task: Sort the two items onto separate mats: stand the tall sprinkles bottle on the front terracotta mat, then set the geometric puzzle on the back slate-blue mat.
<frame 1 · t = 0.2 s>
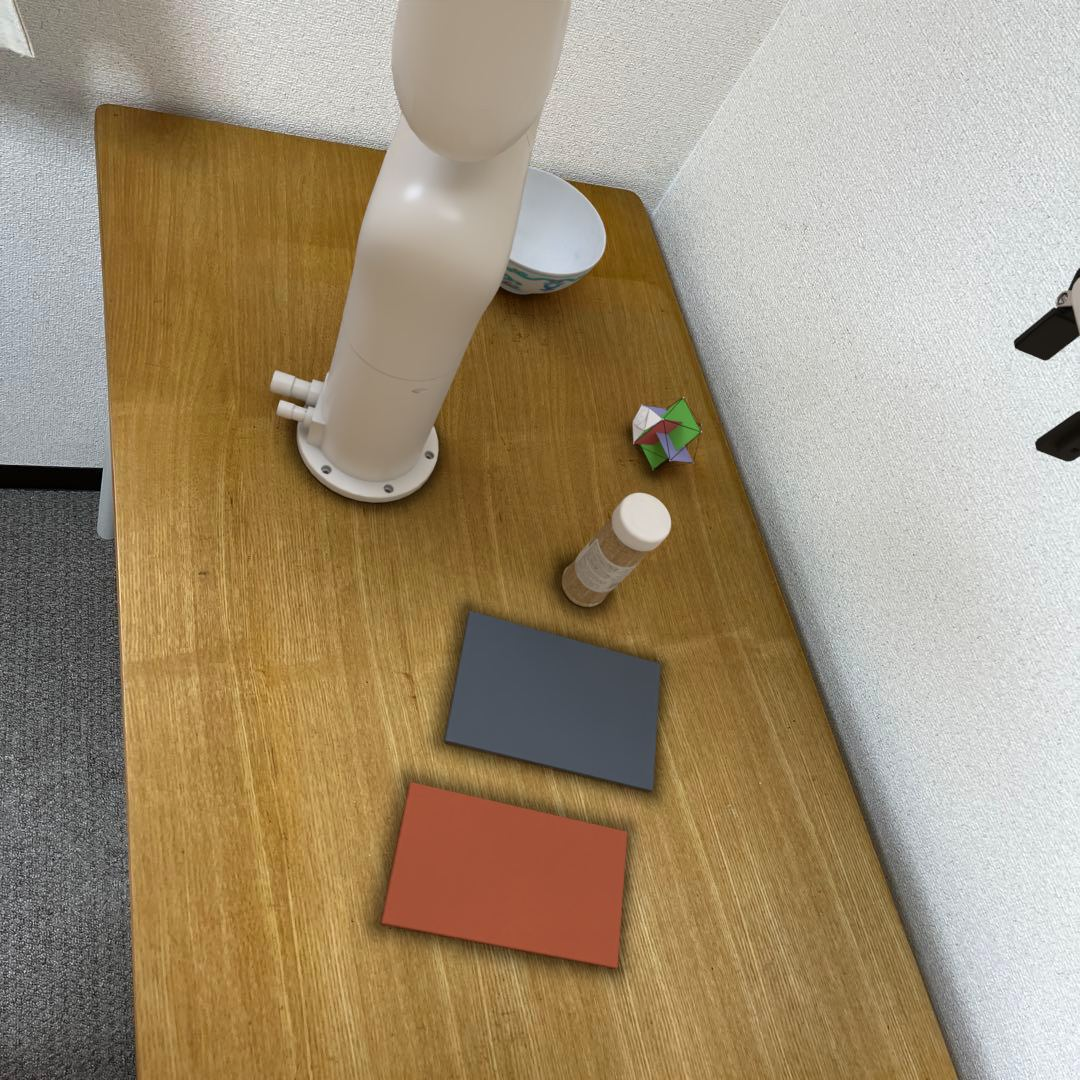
hand: (1039, 400, 66), 31 cm above the table, tool pointing down, fingers open, 9 cm apart
front mat: (511, 875, 68), on the table
chinaware: (514, 272, 98), on the table
geometric puzzle: (652, 452, 93), on the table
sprinkles bottle: (581, 587, 82), on the table
back mat: (557, 701, 76), on the table
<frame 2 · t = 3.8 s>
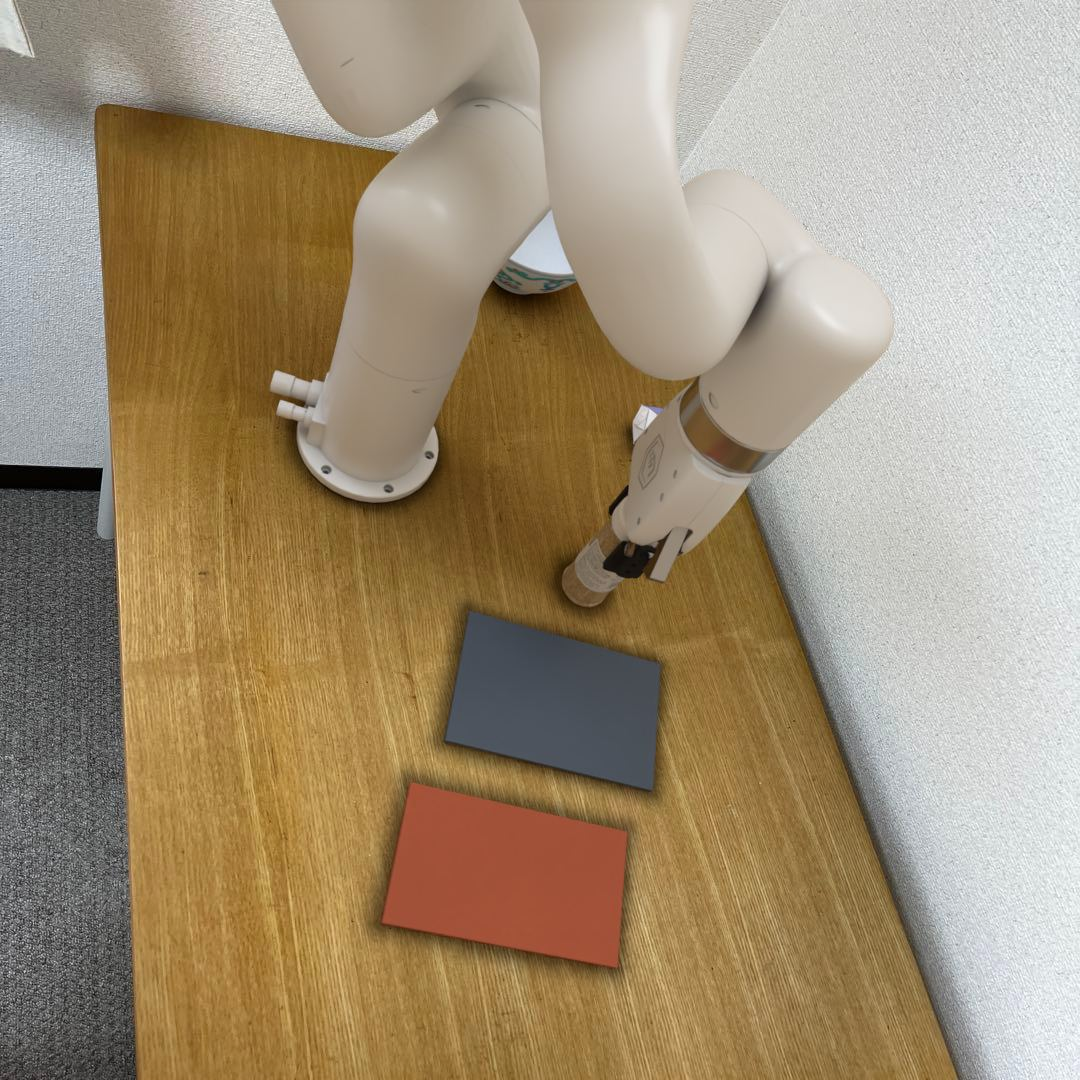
hand: (622, 542, 75), 9 cm above the table, tool pointing down, fingers closed on sprinkles bottle, 4 cm apart
sprinkles bottle: (581, 587, 82), on the table, touching gripper
everything else where it was.
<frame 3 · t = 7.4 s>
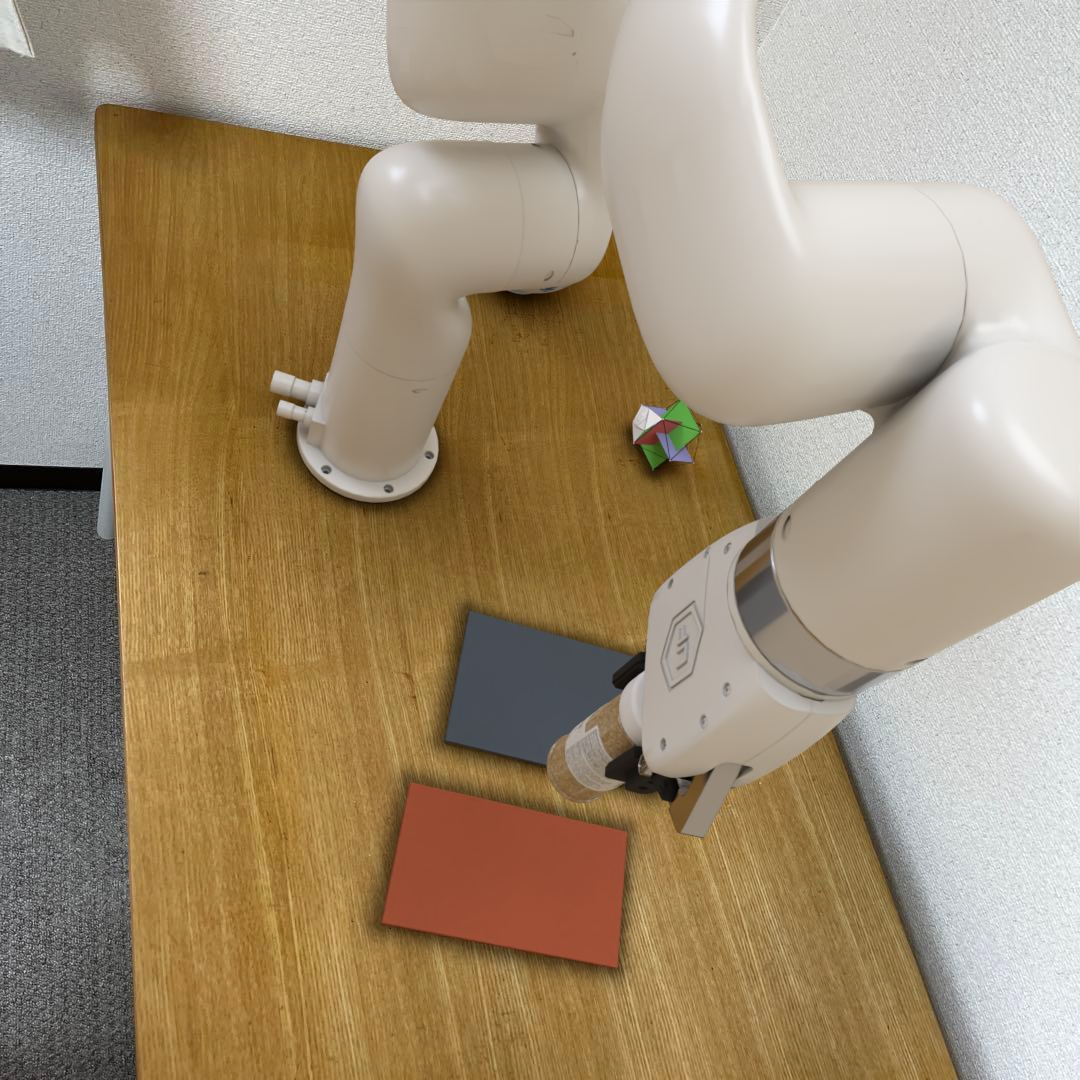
hand: (634, 730, 50), 23 cm above the table, tool pointing down, fingers closed on sprinkles bottle, 4 cm apart
sprinkles bottle: (575, 770, 58), point 14 cm above the table, touching gripper
everything else where it was.
when the fingers open (9 cm above the table, at t = 11.3 s): sprinkles bottle stays where it is, resting on front mat.
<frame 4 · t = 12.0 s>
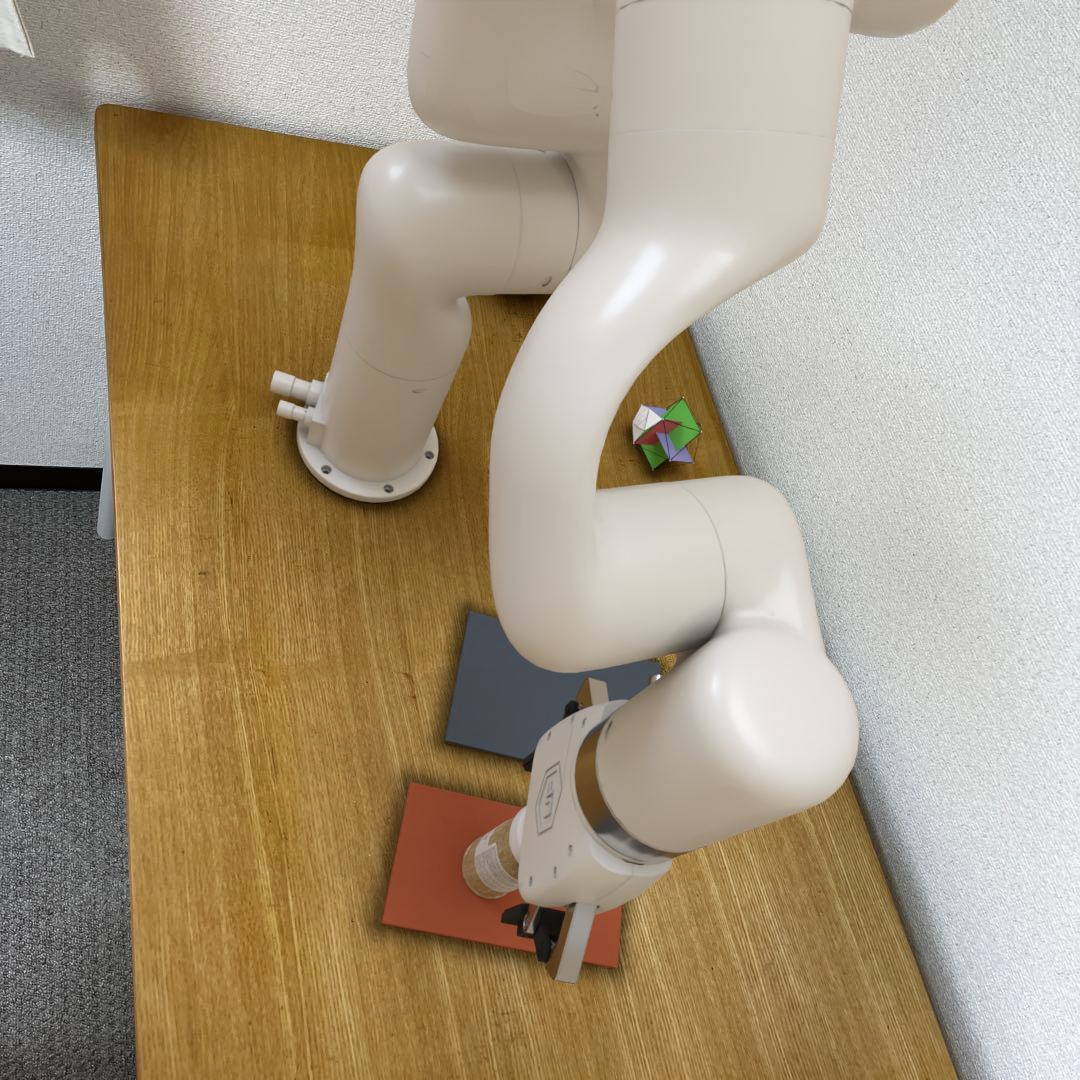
hand: (534, 842, 58), 11 cm above the table, tool pointing down, fingers open, 9 cm apart
sprinkles bottle: (488, 868, 67), resting on front mat
everything else where it was.
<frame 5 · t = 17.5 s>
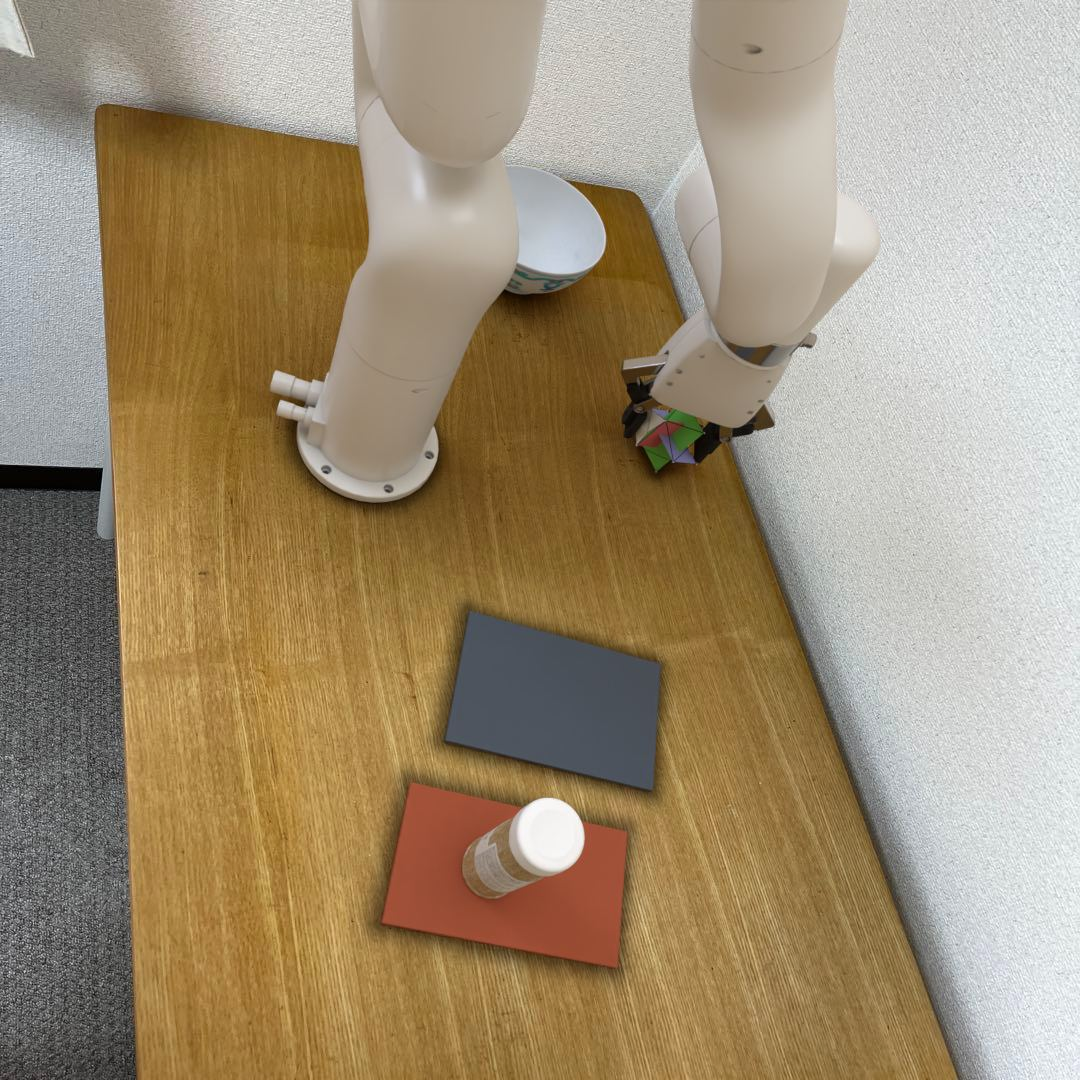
hand: (662, 439, 91), 2 cm above the table, tool pointing down, fingers closed on geometric puzzle, 7 cm apart
geometric puzzle: (655, 454, 93), on the table, touching gripper
everything else where it was.
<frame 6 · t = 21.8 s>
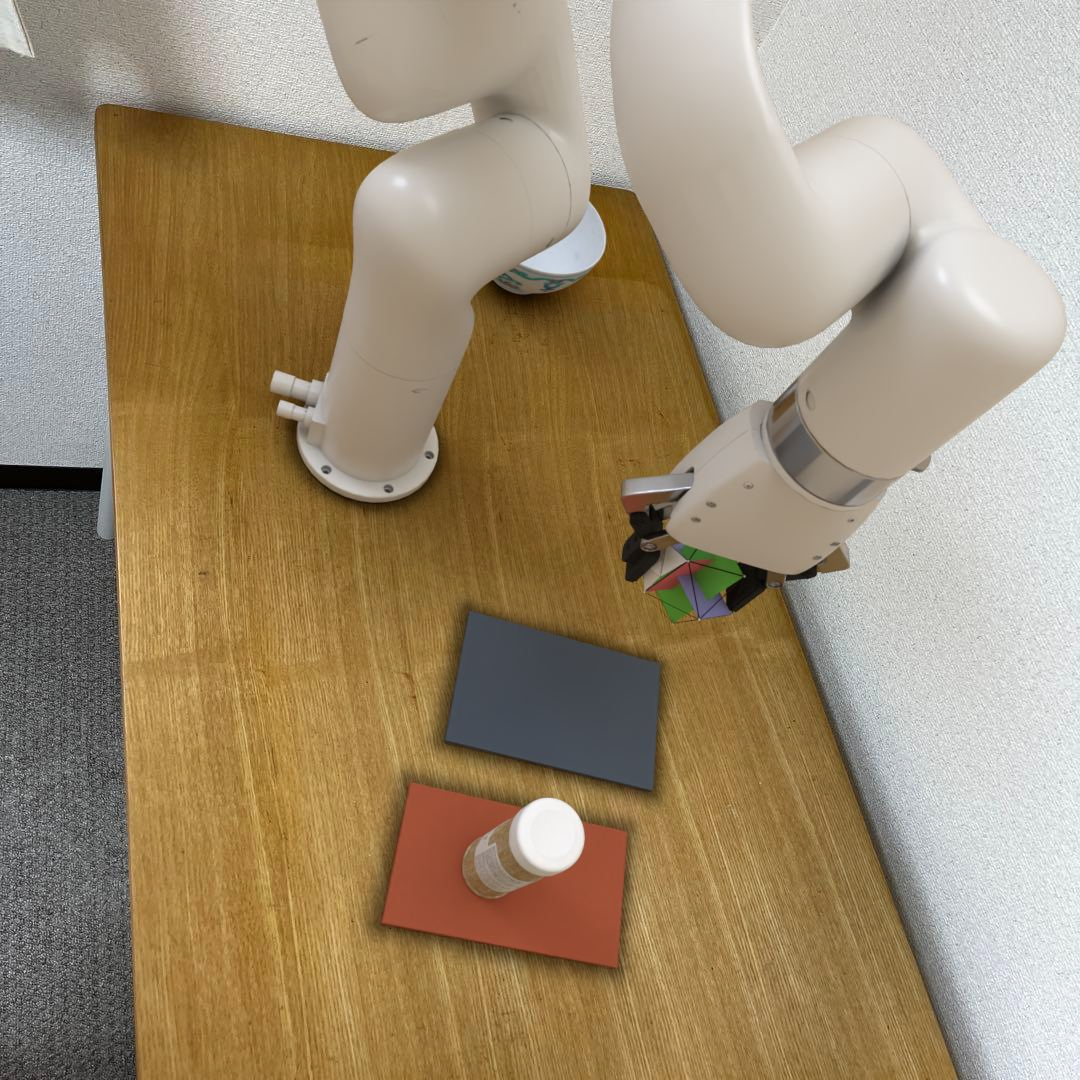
hand: (681, 577, 63), 19 cm above the table, tool pointing down, fingers closed on geometric puzzle, 7 cm apart
geometric puzzle: (671, 595, 65), point 16 cm above the table, touching gripper
everything else where it was.
when the fingers open (3 cm above the table, at t = 26.2 s): geometric puzzle stays where it is, on the table.
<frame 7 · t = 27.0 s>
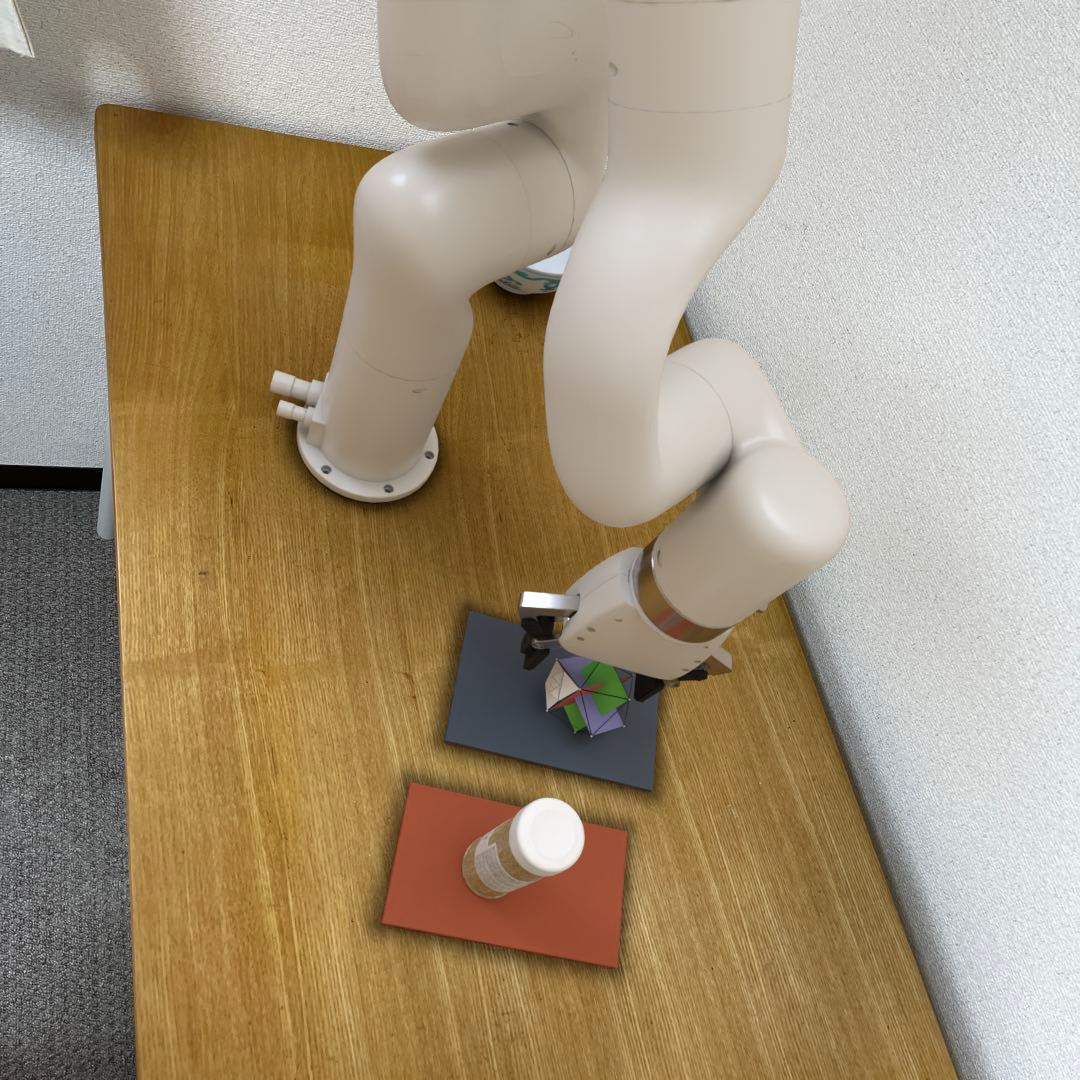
hand: (584, 668, 72), 5 cm above the table, tool pointing down, fingers open, 9 cm apart
geometric puzzle: (575, 705, 76), resting on back mat, touching gripper
everything else where it was.
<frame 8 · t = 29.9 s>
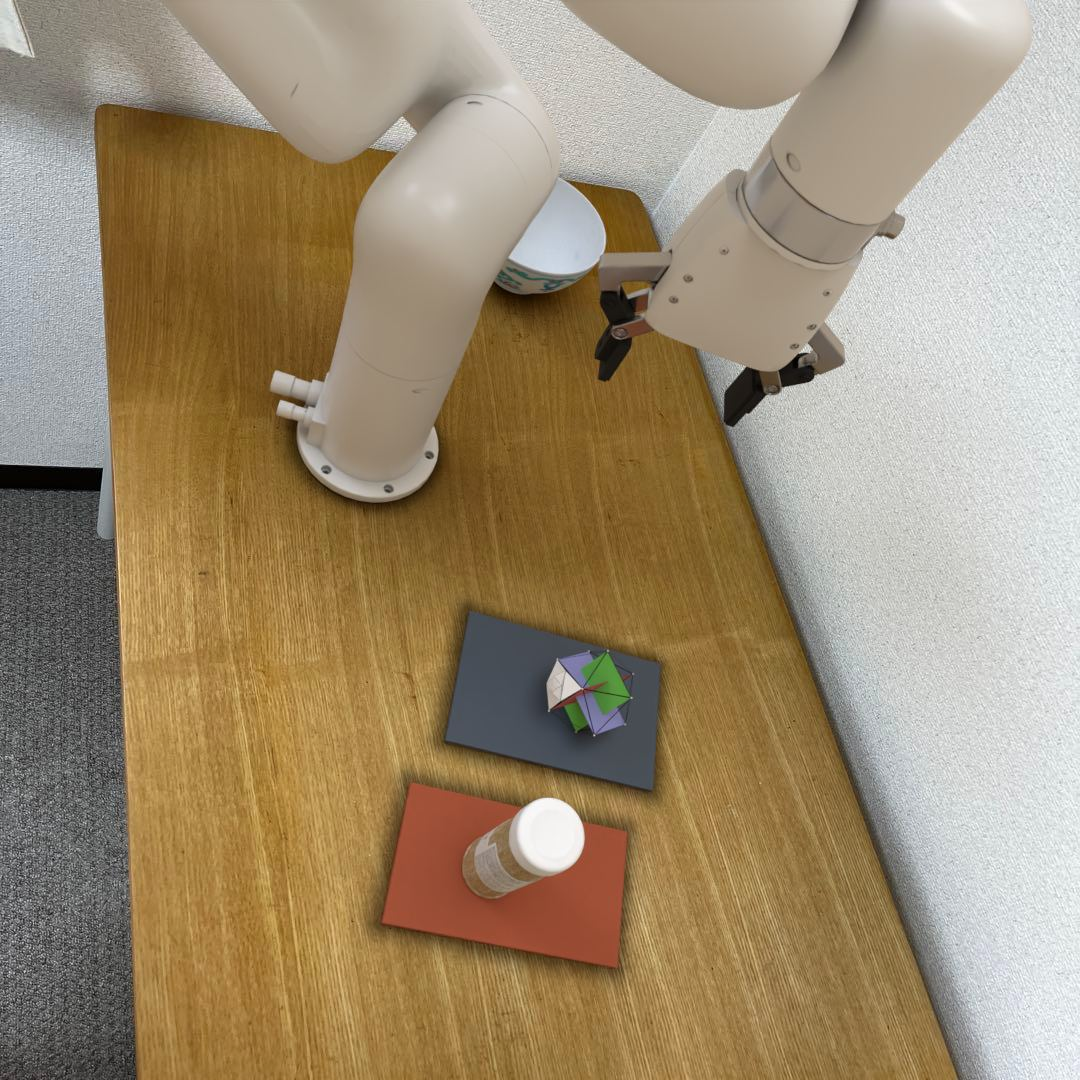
hand: (666, 388, 63), 24 cm above the table, tool pointing down, fingers open, 9 cm apart
geometric puzzle: (575, 704, 76), resting on back mat
everything else where it was.
at the end: sprinkles bottle inside the target area on the front mat (2.0 cm from its centre), point 0.4 cm above the front mat's base; sprinkles bottle tilted 0°; geometric puzzle inside the target area on the back mat (1.5 cm from its centre), point 0.4 cm above the back mat's base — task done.
